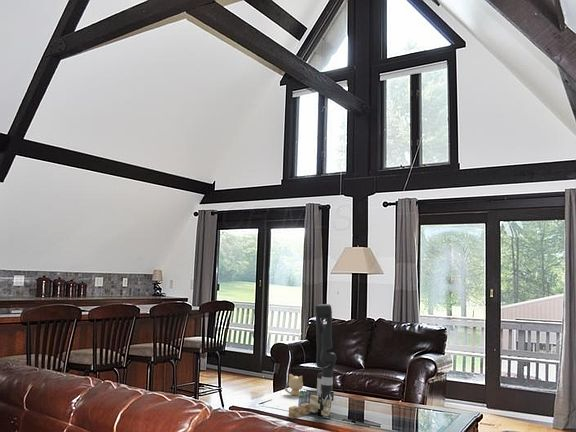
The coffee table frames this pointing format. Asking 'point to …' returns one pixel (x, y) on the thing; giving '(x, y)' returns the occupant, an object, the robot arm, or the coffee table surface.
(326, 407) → the birch slotted plate
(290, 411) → the oak slotted rail
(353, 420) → the coffee table surface
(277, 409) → the coffee table surface
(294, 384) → the kitten
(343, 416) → the coffee table surface
